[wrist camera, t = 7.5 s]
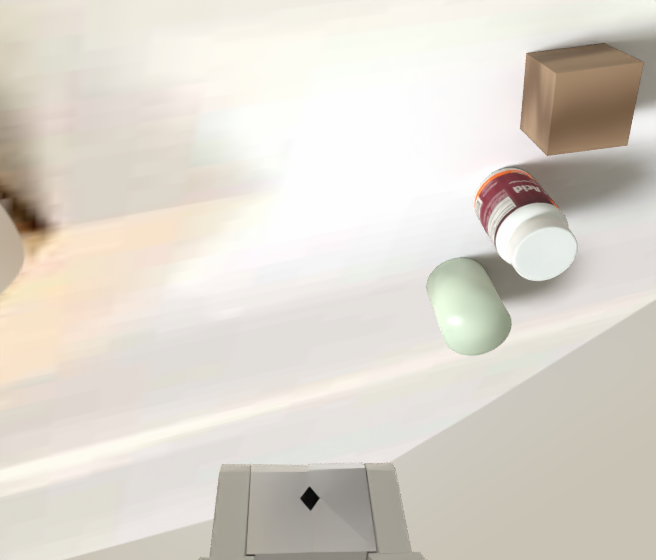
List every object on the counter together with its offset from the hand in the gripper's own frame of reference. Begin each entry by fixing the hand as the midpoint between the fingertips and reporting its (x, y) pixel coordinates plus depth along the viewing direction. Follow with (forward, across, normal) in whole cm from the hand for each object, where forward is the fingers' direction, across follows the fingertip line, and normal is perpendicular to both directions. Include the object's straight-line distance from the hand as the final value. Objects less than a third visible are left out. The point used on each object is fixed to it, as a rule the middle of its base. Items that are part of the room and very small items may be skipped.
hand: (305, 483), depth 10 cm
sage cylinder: (+31, -14, +17) cm, 38 cm away
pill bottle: (+31, -16, +9) cm, 36 cm away
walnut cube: (+31, -18, +1) cm, 36 cm away
